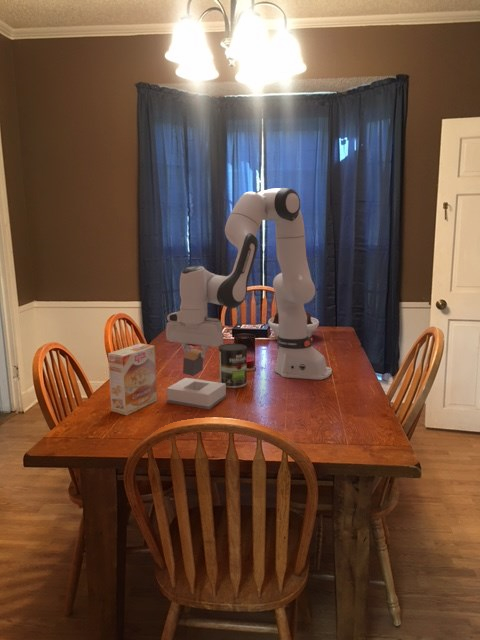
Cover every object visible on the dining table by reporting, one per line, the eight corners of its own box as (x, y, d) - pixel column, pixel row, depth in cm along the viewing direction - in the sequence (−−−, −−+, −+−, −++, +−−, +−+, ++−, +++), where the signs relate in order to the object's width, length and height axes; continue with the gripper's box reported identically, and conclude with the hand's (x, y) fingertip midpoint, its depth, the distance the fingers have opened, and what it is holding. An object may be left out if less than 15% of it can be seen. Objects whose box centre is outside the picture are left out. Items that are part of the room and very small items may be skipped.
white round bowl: (322, 345, 240) (322, 314, 237) (269, 345, 241) (269, 314, 237) (315, 333, 265) (315, 304, 261) (267, 333, 265) (267, 305, 262)
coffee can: (252, 385, 186) (251, 348, 183) (226, 390, 181) (226, 352, 178) (239, 377, 195) (238, 341, 192) (214, 381, 190) (214, 345, 187)
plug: (202, 370, 172) (203, 351, 170) (193, 376, 167) (194, 356, 164) (192, 367, 173) (193, 348, 171) (182, 373, 168) (183, 353, 166)
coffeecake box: (126, 415, 159) (122, 356, 155) (110, 411, 163) (106, 353, 159) (158, 400, 172) (155, 345, 168) (142, 397, 176) (139, 342, 171)
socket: (225, 397, 174) (225, 383, 173) (209, 409, 164) (208, 394, 162) (185, 391, 181) (185, 377, 180) (167, 402, 170) (166, 388, 169)
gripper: (226, 316, 165) (227, 358, 167) (173, 312, 173) (174, 351, 176) (217, 320, 159) (218, 363, 162) (162, 315, 168) (164, 355, 170)
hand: (194, 356), depth 169 cm, fingers closed on plug, 4 cm apart
